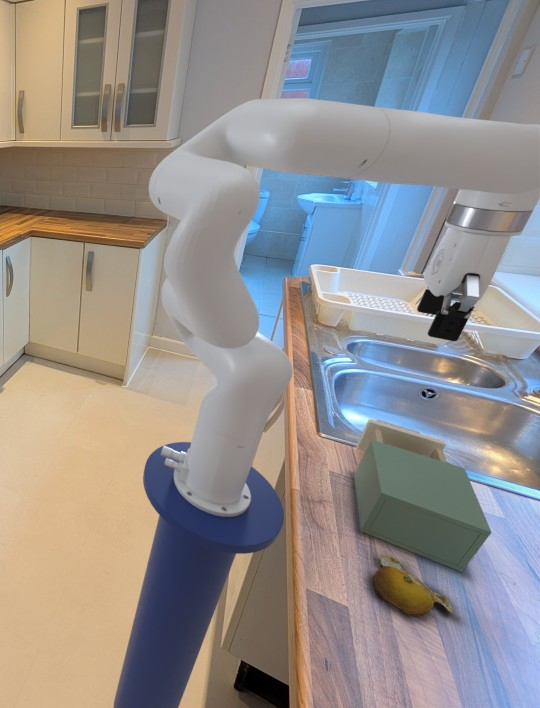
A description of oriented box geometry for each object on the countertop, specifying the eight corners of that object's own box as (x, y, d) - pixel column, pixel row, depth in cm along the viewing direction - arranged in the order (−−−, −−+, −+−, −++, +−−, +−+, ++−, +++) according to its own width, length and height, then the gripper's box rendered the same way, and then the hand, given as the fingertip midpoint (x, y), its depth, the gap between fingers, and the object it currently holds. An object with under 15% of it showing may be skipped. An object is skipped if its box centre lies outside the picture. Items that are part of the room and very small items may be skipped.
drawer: (354, 433, 86) (366, 406, 83) (423, 454, 81) (439, 427, 78) (361, 489, 74) (377, 459, 71) (444, 519, 68) (464, 488, 65)
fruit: (457, 609, 57) (470, 592, 55) (424, 637, 54) (436, 620, 52) (384, 554, 64) (394, 538, 62) (351, 577, 61) (361, 560, 59)
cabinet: (353, 475, 77) (371, 439, 74) (440, 505, 72) (464, 468, 68) (360, 531, 67) (381, 492, 64) (462, 572, 61) (491, 532, 58)
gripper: (437, 204, 68) (396, 300, 76) (463, 229, 56) (411, 342, 63) (505, 209, 64) (455, 310, 72) (550, 238, 52) (484, 357, 59)
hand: (435, 325), depth 67 cm, fingers open, 9 cm apart
